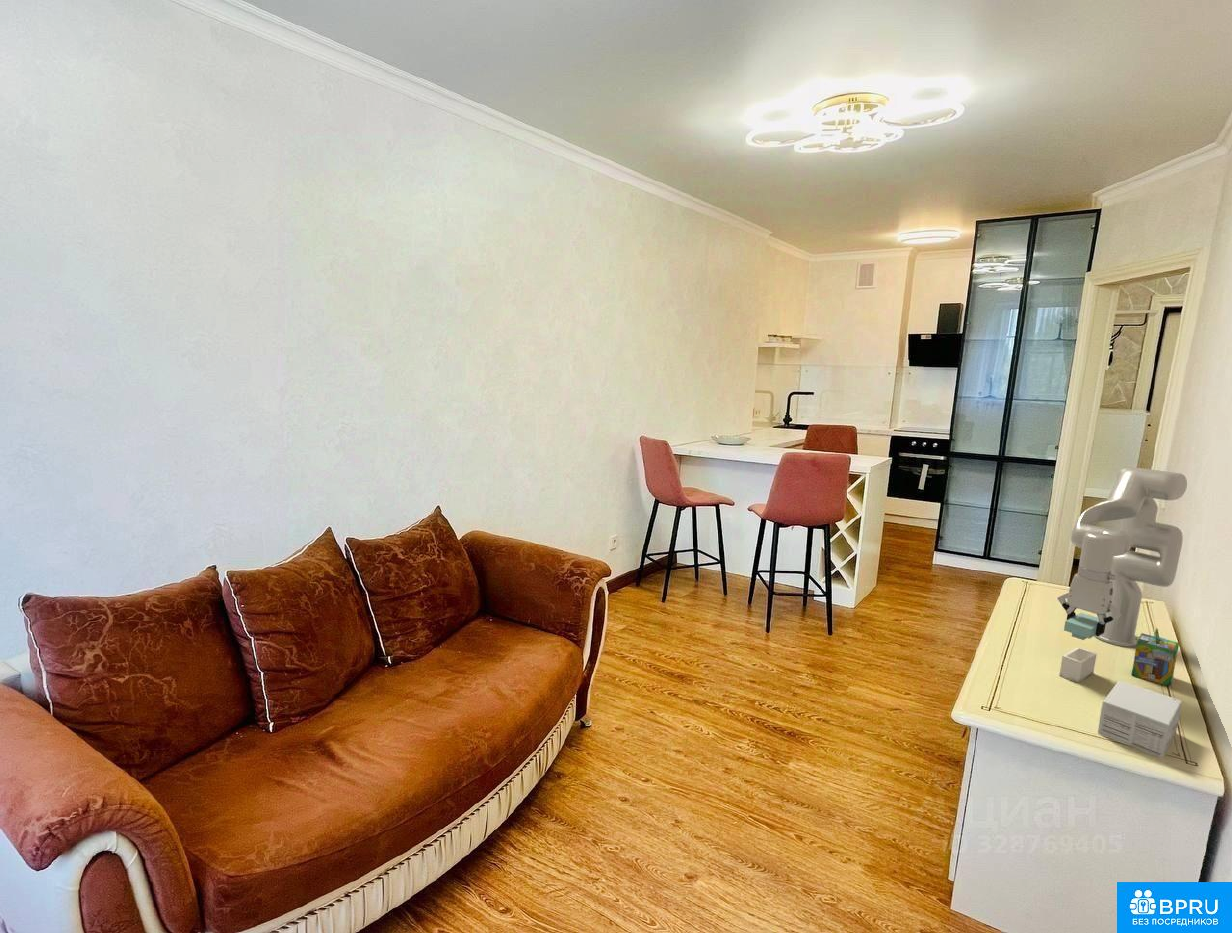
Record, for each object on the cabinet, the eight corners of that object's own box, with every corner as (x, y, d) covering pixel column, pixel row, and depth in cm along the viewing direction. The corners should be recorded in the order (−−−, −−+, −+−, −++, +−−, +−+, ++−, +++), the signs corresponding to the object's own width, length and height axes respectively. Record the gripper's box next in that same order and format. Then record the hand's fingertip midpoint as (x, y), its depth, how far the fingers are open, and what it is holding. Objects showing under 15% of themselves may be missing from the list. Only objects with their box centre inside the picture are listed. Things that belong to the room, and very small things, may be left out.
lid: (1078, 626, 191) (1081, 612, 190) (1104, 634, 186) (1106, 620, 185) (1063, 635, 185) (1065, 621, 184) (1088, 643, 179) (1091, 629, 179)
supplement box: (1112, 710, 168) (1118, 679, 167) (1176, 733, 158) (1183, 700, 157) (1095, 733, 158) (1101, 700, 156) (1163, 759, 148) (1170, 724, 146)
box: (1074, 666, 192) (1077, 647, 191) (1093, 673, 188) (1096, 653, 187) (1059, 675, 186) (1062, 655, 185) (1078, 683, 182) (1082, 662, 181)
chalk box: (1170, 688, 181) (1179, 641, 178) (1130, 675, 187) (1138, 630, 185) (1173, 677, 187) (1183, 632, 184) (1135, 666, 194) (1143, 622, 191)
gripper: (1134, 580, 177) (1124, 638, 180) (1065, 563, 191) (1056, 617, 194) (1125, 586, 172) (1114, 645, 176) (1054, 567, 187) (1046, 622, 190)
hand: (1084, 629), depth 185 cm, fingers closed on lid, 6 cm apart
